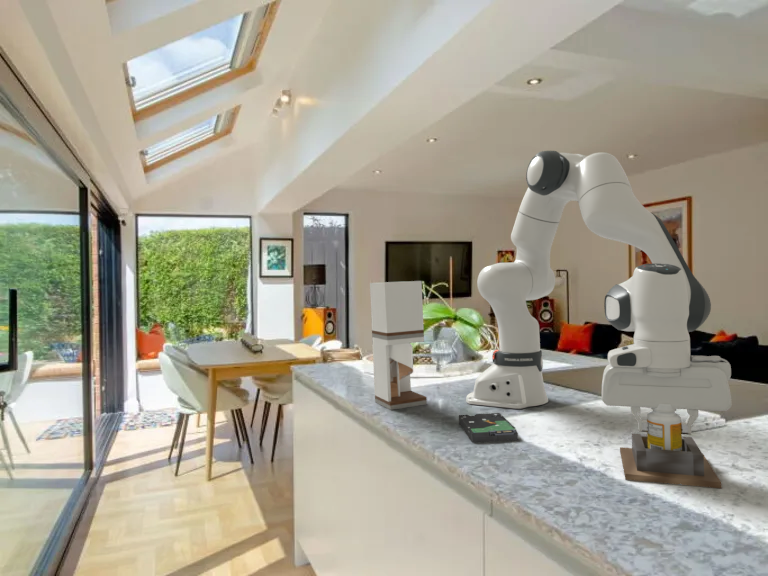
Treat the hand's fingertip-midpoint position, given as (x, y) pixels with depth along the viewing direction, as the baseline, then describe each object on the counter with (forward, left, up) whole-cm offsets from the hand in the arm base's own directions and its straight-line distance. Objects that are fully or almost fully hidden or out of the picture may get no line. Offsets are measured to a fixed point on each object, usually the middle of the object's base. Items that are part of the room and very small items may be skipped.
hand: (663, 432), depth 91 cm
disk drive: (-34, +15, -7) cm, 38 cm away
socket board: (0, 0, -7) cm, 7 cm away
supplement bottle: (0, 0, -4) cm, 4 cm away
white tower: (-63, +36, -7) cm, 73 cm away
